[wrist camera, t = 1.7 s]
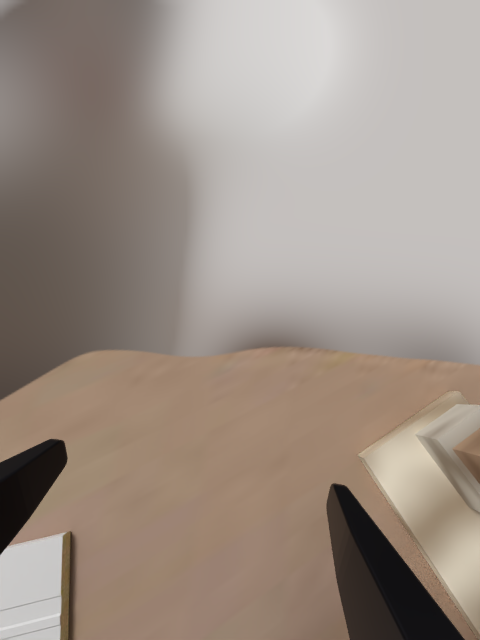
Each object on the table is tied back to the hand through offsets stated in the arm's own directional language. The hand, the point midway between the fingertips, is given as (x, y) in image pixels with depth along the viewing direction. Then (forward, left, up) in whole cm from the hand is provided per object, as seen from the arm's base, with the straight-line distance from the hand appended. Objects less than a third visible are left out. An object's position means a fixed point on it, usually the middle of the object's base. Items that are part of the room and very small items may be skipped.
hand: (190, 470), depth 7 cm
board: (-15, -14, -15) cm, 26 cm away
